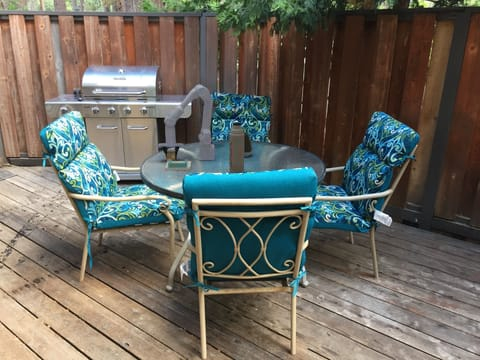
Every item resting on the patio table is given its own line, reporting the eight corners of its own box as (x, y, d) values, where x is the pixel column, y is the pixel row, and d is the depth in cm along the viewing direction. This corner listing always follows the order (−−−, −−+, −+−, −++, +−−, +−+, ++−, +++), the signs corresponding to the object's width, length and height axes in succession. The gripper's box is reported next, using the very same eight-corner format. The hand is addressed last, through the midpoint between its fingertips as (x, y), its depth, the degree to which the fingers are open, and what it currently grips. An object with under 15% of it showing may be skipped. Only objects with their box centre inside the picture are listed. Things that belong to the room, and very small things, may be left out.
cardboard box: (176, 159, 248) (175, 151, 246) (175, 162, 243) (174, 154, 241) (168, 159, 248) (168, 151, 246) (167, 162, 242) (166, 154, 241)
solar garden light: (222, 145, 280) (221, 101, 270) (217, 150, 269) (216, 104, 258) (205, 144, 282) (204, 100, 272) (199, 148, 271) (198, 103, 261)
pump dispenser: (237, 158, 251) (237, 134, 246) (234, 153, 261) (234, 130, 255) (253, 157, 253) (254, 133, 248) (250, 153, 263) (250, 129, 257)
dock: (191, 163, 241) (191, 156, 240) (190, 170, 230) (189, 163, 229) (167, 163, 240) (167, 157, 239) (164, 170, 229) (164, 163, 228)
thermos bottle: (229, 175, 222) (229, 124, 212) (229, 170, 229) (229, 121, 219) (244, 175, 222) (245, 124, 213) (243, 170, 230) (243, 121, 220)
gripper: (183, 134, 244) (184, 156, 249) (159, 135, 244) (160, 156, 248) (182, 137, 238) (183, 160, 242) (157, 138, 237) (158, 160, 242)
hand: (171, 158), depth 245 cm, fingers closed on cardboard box, 4 cm apart
